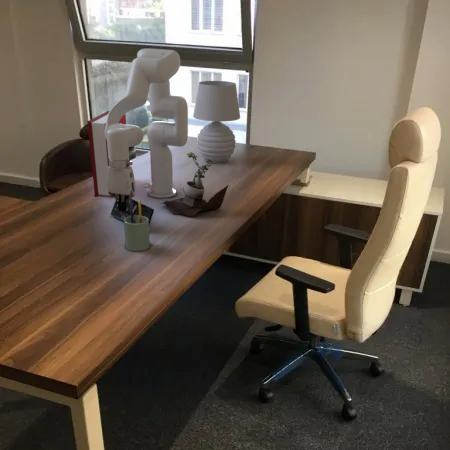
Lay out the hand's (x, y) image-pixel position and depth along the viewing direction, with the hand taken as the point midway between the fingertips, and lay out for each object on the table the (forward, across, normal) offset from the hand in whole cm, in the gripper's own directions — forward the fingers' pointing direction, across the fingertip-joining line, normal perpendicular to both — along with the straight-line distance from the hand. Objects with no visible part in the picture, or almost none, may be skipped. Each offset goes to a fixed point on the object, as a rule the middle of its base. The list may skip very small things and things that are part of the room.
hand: (122, 210), depth 200 cm
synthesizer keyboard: (+5, -4, 0) cm, 6 cm away
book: (+5, +26, -38) cm, 46 cm away
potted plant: (+5, -19, -26) cm, 33 cm away
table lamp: (+4, -1, -104) cm, 105 cm away
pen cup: (+5, -16, +18) cm, 25 cm away
